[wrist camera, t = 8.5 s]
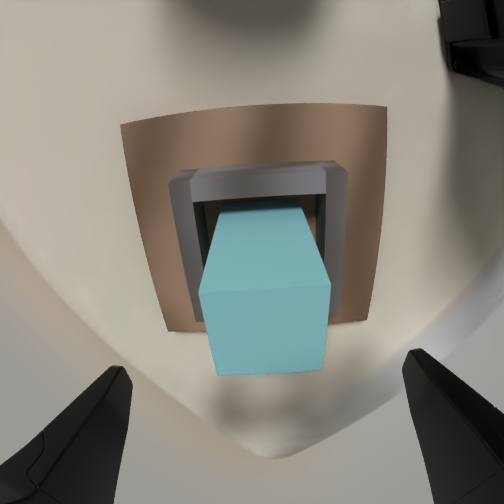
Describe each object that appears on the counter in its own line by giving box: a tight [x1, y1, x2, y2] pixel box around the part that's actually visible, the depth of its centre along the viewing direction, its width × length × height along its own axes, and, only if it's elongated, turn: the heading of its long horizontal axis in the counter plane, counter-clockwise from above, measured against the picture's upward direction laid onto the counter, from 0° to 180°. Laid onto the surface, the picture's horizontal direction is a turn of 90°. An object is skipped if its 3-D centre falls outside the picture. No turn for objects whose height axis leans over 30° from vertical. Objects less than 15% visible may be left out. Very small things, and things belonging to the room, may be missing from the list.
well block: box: [120, 103, 387, 331], centre depth 16 cm, size 14×14×4 cm
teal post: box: [198, 199, 331, 376], centre depth 14 cm, size 4×4×8 cm
